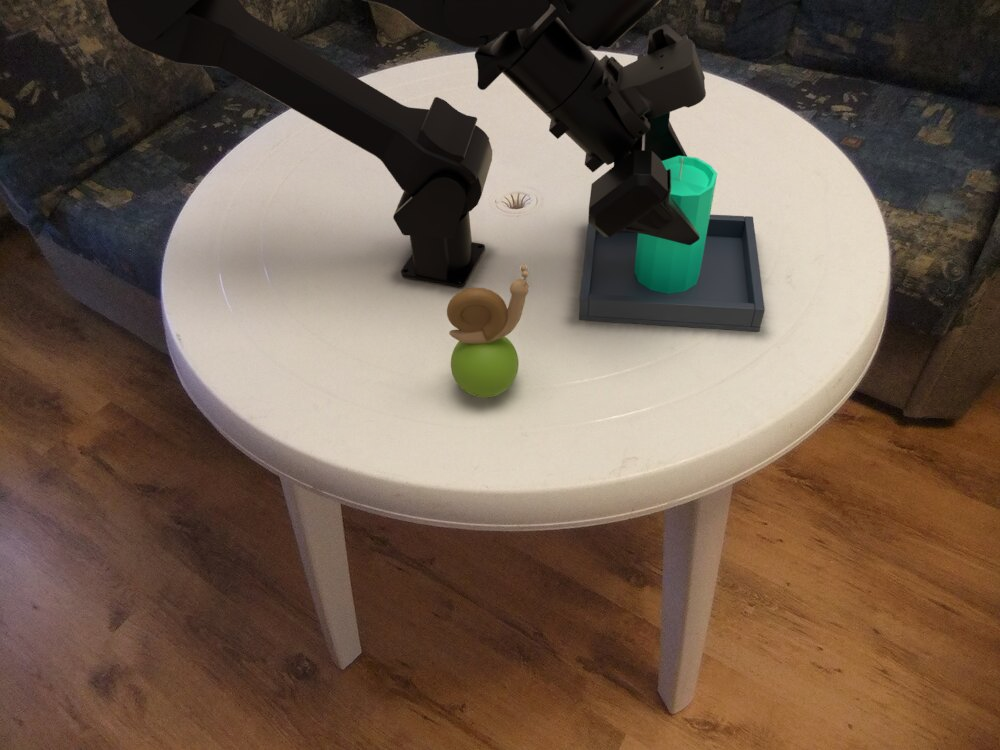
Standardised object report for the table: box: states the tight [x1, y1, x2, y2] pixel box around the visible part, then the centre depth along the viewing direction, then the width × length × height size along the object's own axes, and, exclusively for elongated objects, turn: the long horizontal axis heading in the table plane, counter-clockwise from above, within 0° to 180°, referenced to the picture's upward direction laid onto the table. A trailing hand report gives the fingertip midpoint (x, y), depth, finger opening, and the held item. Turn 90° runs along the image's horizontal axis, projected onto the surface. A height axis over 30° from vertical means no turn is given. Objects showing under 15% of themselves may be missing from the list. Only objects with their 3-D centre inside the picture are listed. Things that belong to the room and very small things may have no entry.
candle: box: [634, 156, 718, 294], centre depth 70 cm, size 6×6×12 cm
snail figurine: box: [446, 264, 530, 398], centre depth 61 cm, size 5×6×12 cm
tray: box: [578, 214, 766, 332], centre depth 73 cm, size 16×14×2 cm
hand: (694, 209), depth 69 cm, fingers open, 9 cm apart
